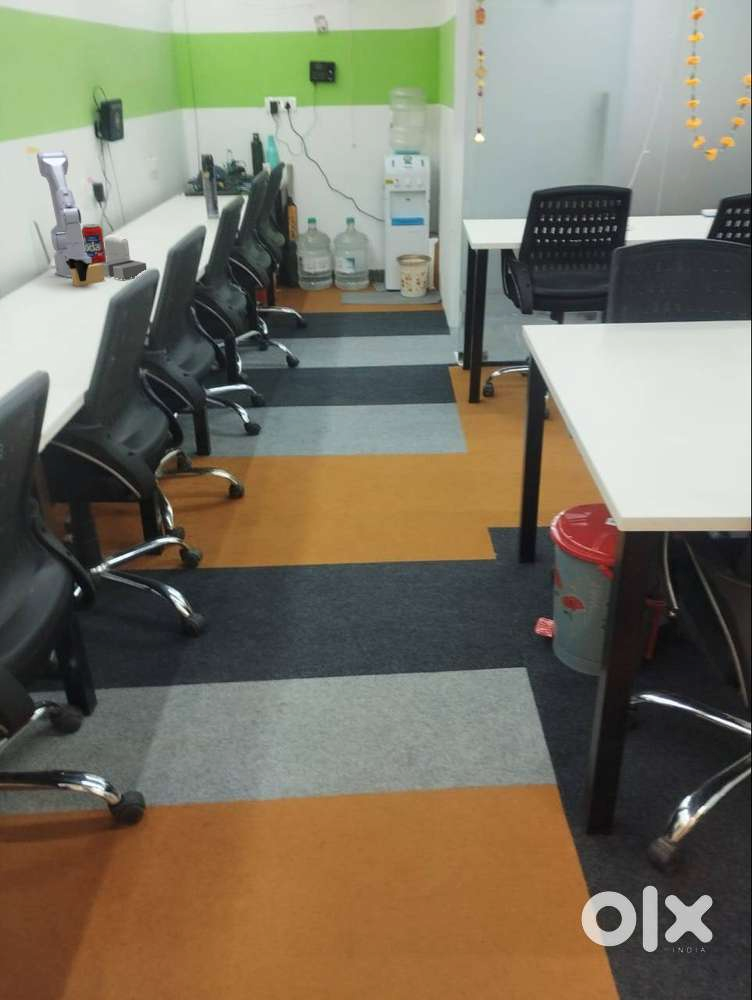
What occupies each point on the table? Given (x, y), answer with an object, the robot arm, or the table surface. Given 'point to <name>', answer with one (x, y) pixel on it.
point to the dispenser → (123, 268)
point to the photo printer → (116, 247)
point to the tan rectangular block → (88, 275)
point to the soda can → (94, 243)
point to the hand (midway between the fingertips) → (80, 280)
